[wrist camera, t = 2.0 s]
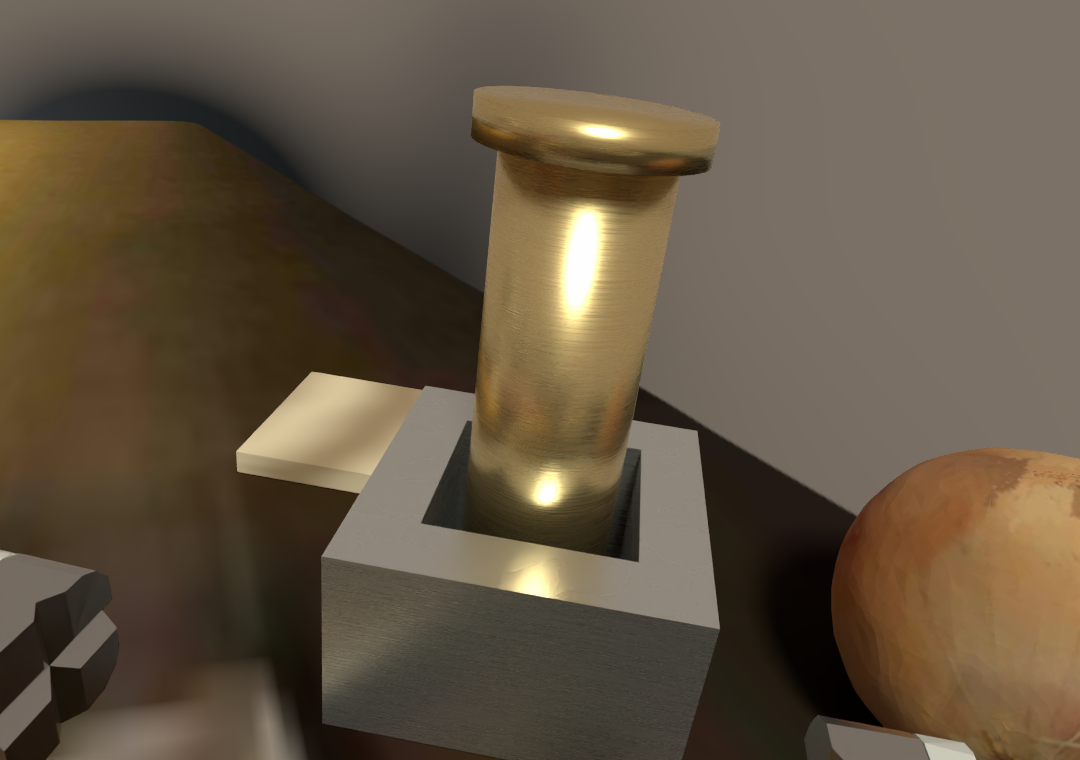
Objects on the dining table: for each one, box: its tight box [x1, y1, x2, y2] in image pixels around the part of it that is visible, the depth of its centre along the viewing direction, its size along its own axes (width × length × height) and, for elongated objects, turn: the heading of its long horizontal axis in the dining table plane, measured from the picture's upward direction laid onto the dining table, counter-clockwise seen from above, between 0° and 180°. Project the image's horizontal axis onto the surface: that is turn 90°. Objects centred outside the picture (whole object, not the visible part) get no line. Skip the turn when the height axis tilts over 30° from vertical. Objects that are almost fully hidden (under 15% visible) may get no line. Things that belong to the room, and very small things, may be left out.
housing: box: [322, 386, 720, 760], centre depth 25 cm, size 10×10×6 cm
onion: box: [831, 448, 1080, 760], centre depth 22 cm, size 10×10×10 cm
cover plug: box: [462, 86, 721, 556], centre depth 23 cm, size 6×6×17 cm
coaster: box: [236, 372, 423, 493], centre depth 36 cm, size 8×8×1 cm
